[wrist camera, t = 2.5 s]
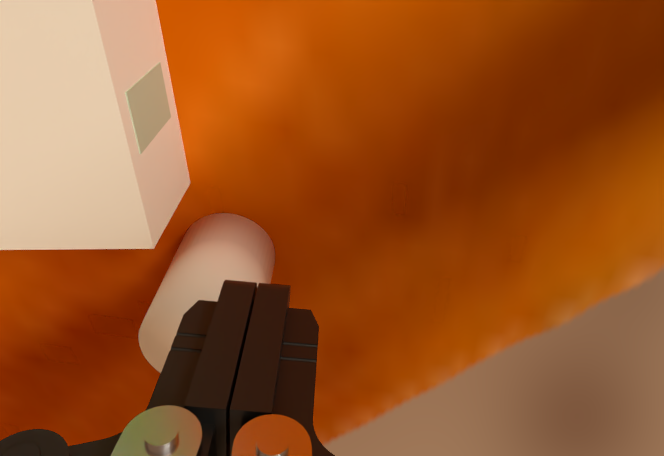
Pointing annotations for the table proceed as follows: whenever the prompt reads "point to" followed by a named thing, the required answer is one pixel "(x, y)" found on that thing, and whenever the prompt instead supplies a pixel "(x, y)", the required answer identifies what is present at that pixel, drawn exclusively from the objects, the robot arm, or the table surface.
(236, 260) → the cream round-ended cylinder
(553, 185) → the table surface
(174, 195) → the carton
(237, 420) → the robot arm
